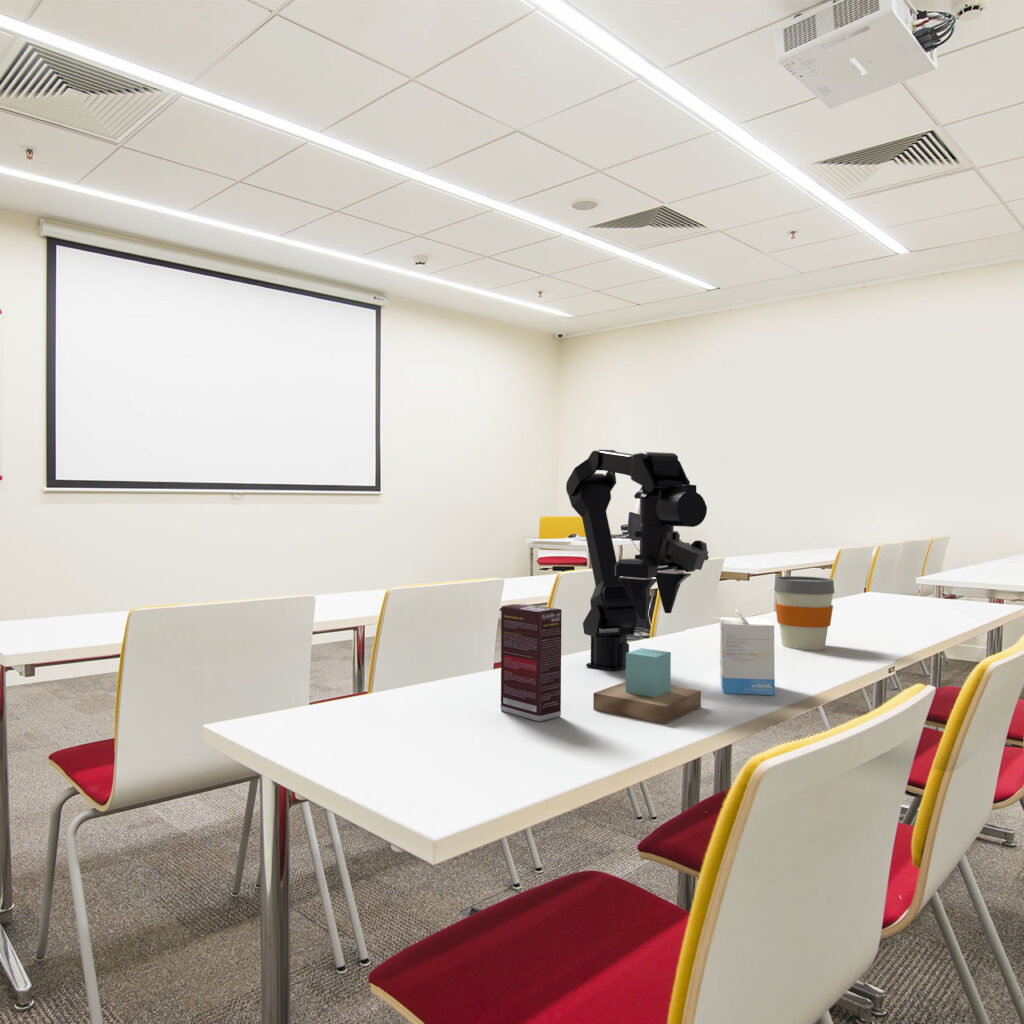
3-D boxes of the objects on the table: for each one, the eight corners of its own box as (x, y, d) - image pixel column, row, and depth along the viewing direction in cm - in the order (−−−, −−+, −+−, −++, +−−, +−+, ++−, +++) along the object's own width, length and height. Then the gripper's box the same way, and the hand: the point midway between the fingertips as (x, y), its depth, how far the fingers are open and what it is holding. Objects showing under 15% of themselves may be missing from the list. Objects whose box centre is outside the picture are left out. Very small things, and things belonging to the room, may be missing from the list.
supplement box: (562, 716, 112) (563, 608, 112) (539, 723, 109) (540, 611, 109) (521, 705, 119) (522, 602, 119) (498, 710, 115) (499, 605, 115)
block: (625, 692, 117) (626, 652, 117) (641, 686, 121) (641, 648, 121) (655, 697, 114) (655, 657, 114) (670, 691, 118) (670, 652, 118)
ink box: (775, 696, 126) (776, 614, 125) (722, 693, 127) (723, 612, 127) (768, 684, 134) (769, 607, 134) (718, 681, 136) (719, 606, 136)
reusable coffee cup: (843, 652, 164) (844, 582, 164) (784, 651, 165) (785, 581, 164) (820, 641, 177) (821, 576, 177) (765, 640, 177) (766, 575, 177)
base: (593, 709, 117) (593, 693, 117) (632, 694, 126) (632, 679, 126) (665, 723, 109) (665, 706, 109) (700, 706, 119) (701, 690, 119)
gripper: (675, 527, 120) (674, 627, 120) (723, 525, 134) (722, 614, 135) (613, 525, 127) (612, 620, 127) (665, 524, 141) (664, 608, 141)
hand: (655, 615), depth 132 cm, fingers open, 9 cm apart
